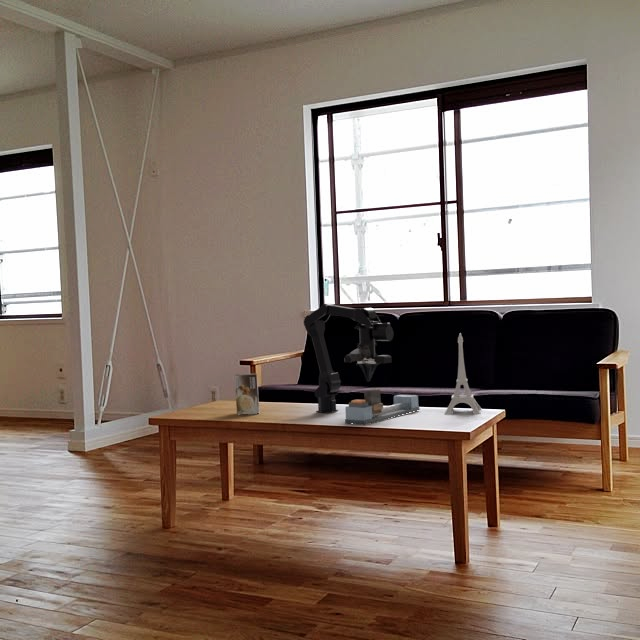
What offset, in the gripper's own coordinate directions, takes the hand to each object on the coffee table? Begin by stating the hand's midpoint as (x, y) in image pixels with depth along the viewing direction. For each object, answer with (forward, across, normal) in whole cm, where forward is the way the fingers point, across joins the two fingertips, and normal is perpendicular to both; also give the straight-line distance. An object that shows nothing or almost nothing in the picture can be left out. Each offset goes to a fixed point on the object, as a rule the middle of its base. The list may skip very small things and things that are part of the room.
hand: (368, 381), depth 302 cm
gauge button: (+6, +10, -19) cm, 22 cm away
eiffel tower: (+13, +29, +21) cm, 38 cm away
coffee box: (+14, -47, -18) cm, 53 cm away
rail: (+13, +9, -3) cm, 16 cm away
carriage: (+10, +9, -10) cm, 17 cm away
